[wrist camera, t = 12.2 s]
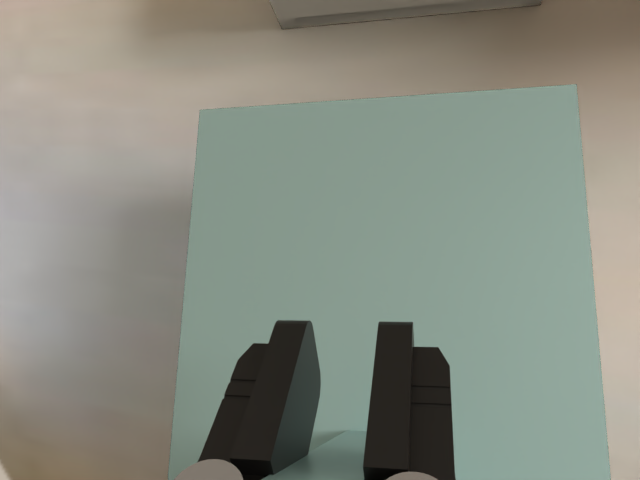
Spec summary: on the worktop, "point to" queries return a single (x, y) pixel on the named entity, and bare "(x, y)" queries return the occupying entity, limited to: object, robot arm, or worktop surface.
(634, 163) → the worktop surface
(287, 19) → the tub
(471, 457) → the lid
